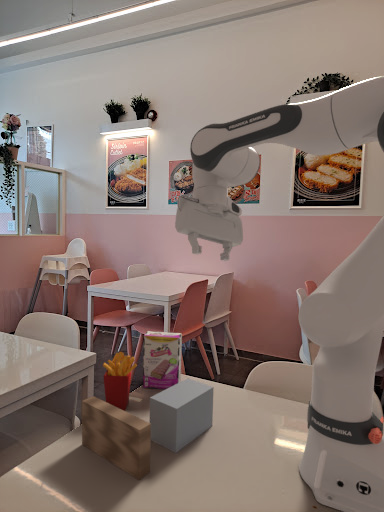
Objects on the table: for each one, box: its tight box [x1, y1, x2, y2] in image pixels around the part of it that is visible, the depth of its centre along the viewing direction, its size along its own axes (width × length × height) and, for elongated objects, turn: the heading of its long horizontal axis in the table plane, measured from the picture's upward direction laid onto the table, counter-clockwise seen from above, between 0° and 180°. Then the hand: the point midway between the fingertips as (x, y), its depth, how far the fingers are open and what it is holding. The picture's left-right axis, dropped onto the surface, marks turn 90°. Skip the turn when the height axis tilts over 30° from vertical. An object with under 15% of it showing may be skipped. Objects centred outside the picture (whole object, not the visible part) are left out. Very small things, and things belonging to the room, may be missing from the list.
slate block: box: [149, 378, 214, 454], centre depth 86 cm, size 8×14×10 cm, turn 143°
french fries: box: [102, 351, 138, 411], centre depth 98 cm, size 9×8×15 cm
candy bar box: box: [142, 330, 183, 390], centre depth 110 cm, size 11×5×16 cm, turn 84°
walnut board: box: [81, 395, 152, 481], centre depth 76 cm, size 18×3×10 cm, turn 53°
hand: (211, 257), depth 87 cm, fingers open, 8 cm apart
